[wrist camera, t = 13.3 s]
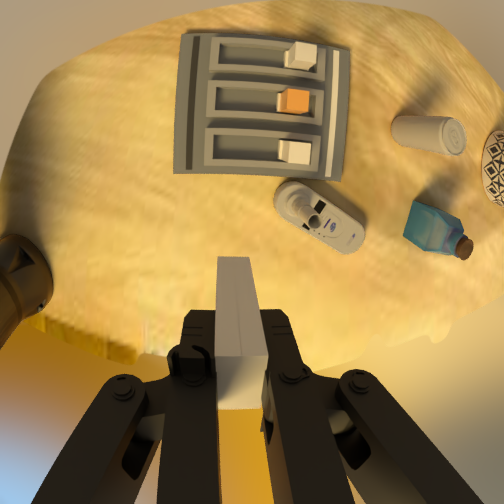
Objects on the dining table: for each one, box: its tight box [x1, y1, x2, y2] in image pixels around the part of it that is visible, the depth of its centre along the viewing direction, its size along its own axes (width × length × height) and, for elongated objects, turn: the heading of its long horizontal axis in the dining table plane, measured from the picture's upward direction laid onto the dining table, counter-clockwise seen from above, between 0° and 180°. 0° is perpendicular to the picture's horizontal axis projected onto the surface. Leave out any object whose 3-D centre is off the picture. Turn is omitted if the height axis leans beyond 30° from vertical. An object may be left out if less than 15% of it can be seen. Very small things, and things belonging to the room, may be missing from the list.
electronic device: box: [273, 181, 365, 255], centre depth 35 cm, size 5×10×15 cm
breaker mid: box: [276, 88, 309, 115], centre depth 29 cm, size 3×2×5 cm
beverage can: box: [391, 116, 467, 156], centre depth 29 cm, size 5×5×12 cm
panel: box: [173, 33, 350, 182], centre depth 31 cm, size 22×19×3 cm
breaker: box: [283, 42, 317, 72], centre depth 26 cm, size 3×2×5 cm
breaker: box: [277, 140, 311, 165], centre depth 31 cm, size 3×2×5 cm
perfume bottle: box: [403, 201, 473, 260], centre depth 35 cm, size 6×6×12 cm
